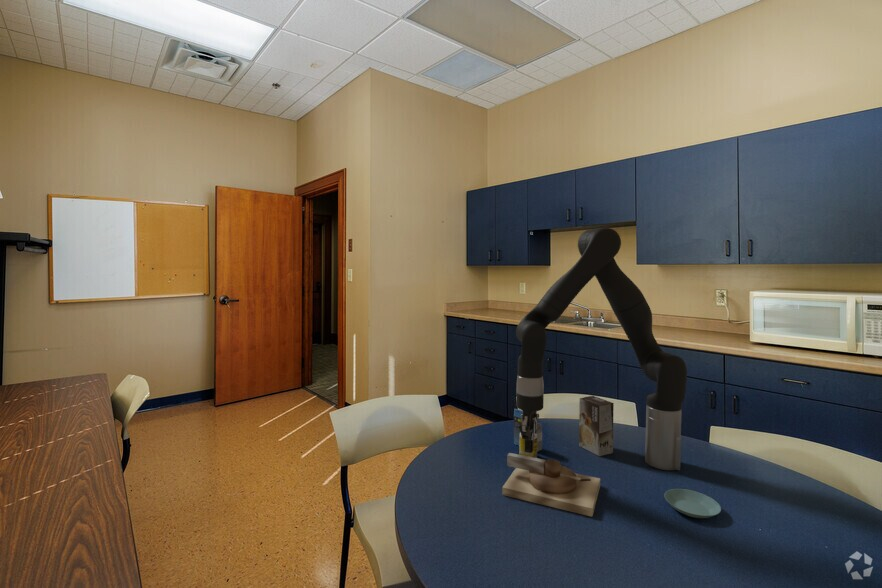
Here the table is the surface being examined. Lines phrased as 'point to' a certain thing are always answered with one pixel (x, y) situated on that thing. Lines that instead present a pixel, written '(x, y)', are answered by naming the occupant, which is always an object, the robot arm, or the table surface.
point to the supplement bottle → (522, 447)
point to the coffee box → (596, 425)
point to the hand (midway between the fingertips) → (529, 451)
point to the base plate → (572, 501)
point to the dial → (545, 473)
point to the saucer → (692, 503)
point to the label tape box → (517, 431)
